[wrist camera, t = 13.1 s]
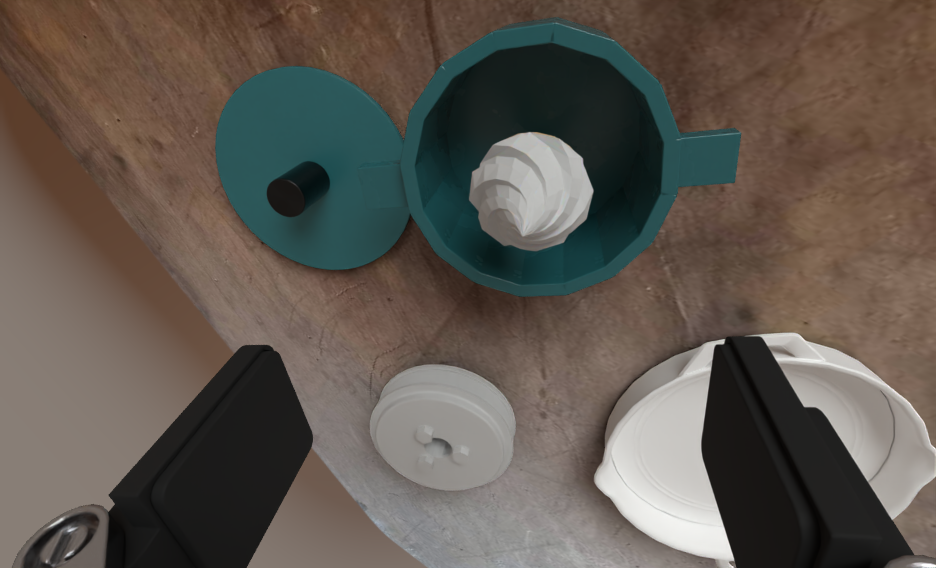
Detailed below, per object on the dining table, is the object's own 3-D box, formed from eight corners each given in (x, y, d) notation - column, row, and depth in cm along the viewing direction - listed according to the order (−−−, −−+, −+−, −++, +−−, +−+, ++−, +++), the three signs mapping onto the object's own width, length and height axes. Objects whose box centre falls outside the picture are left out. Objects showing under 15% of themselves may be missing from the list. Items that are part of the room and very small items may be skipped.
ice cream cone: (506, 190, 33) (471, 309, 20) (485, 106, 31) (431, 181, 18) (590, 172, 32) (609, 288, 19) (575, 82, 29) (585, 145, 16)
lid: (539, 442, 45) (537, 488, 41) (425, 469, 50) (412, 514, 45) (476, 339, 40) (465, 379, 36) (356, 380, 45) (335, 419, 41)
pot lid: (192, 79, 33) (137, 91, 29) (393, 50, 30) (365, 58, 26) (263, 267, 40) (227, 299, 36) (433, 259, 37) (416, 293, 33)
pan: (940, 283, 32) (985, 317, 28) (893, 540, 44) (920, 585, 40) (565, 332, 39) (565, 364, 35) (613, 543, 51) (616, 582, 47)
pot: (379, 43, 30) (322, 56, 23) (710, -7, 26) (766, -10, 19) (419, 242, 37) (384, 301, 30) (689, 226, 33) (725, 290, 25)
